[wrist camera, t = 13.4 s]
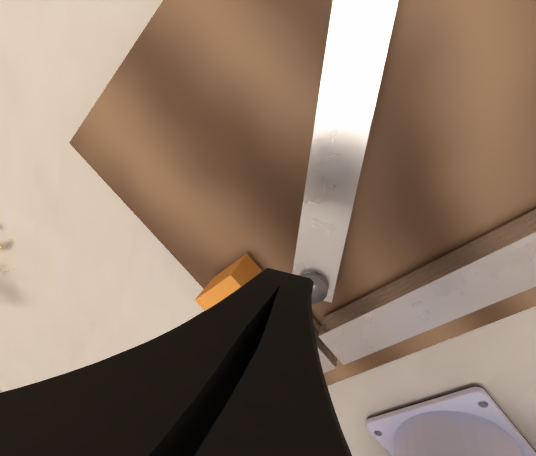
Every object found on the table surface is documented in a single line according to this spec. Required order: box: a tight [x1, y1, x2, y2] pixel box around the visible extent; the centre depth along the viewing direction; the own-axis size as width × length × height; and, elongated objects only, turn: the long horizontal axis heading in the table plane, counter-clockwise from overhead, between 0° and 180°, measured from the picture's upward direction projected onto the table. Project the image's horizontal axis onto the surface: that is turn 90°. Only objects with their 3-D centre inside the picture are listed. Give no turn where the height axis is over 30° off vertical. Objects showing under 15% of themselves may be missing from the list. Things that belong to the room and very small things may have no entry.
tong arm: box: [292, 0, 398, 304], centre depth 12 cm, size 18×2×6 cm, turn 175°
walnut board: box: [70, 0, 536, 386], centre depth 15 cm, size 28×22×1 cm
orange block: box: [196, 253, 262, 311], centre depth 19 cm, size 3×2×2 cm
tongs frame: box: [313, 209, 536, 373], centre depth 14 cm, size 24×5×2 cm, turn 133°
